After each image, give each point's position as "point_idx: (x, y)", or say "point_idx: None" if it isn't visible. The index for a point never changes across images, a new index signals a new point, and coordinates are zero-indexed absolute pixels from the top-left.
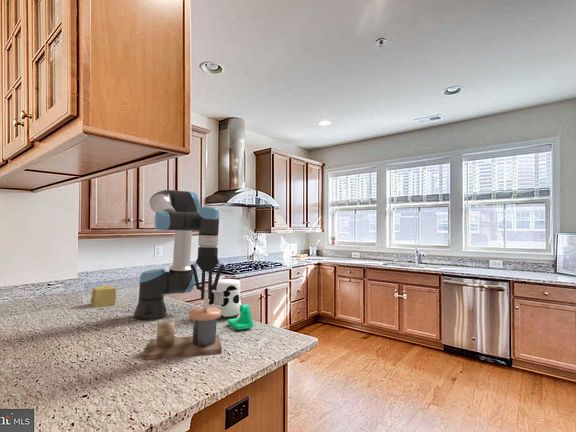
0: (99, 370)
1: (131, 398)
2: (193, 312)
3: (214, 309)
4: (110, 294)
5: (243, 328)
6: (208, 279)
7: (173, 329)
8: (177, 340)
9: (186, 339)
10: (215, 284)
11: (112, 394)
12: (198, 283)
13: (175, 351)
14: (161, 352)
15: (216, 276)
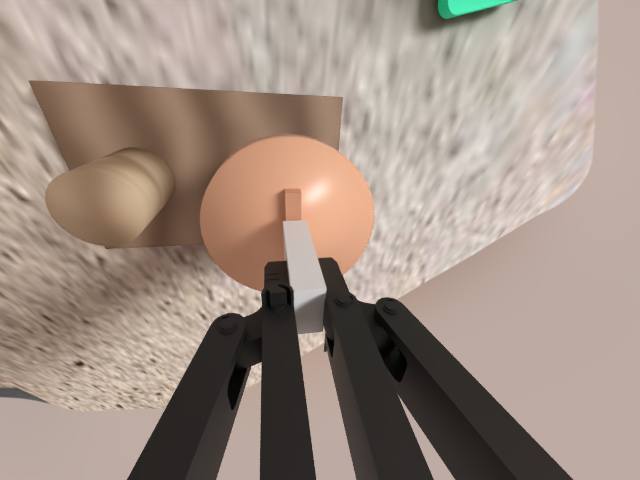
0: (17, 286)
1: (171, 369)
2: (230, 251)
3: (343, 208)
4: None
5: (469, 12)
6: (352, 402)
7: (153, 214)
8: (176, 132)
9: (213, 129)
10: (397, 372)
11: (131, 361)
12: (231, 413)
13: (198, 235)
14: (155, 237)
15: (448, 468)
